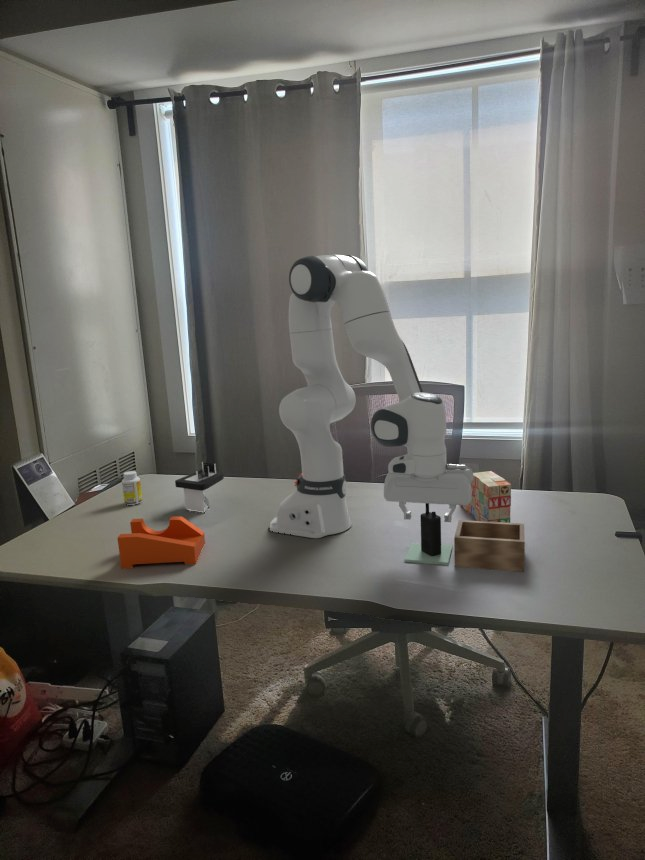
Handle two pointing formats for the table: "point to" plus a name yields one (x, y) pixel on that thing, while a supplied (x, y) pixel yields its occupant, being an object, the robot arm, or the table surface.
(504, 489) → the stack of blocks
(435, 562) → the place mat
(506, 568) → the access box
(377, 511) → the table surface
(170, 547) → the orange cradle stand
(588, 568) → the table surface
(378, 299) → the robot arm
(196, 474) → the black-topped pedestal
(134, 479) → the supplement bottle
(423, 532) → the walkie-talkie
